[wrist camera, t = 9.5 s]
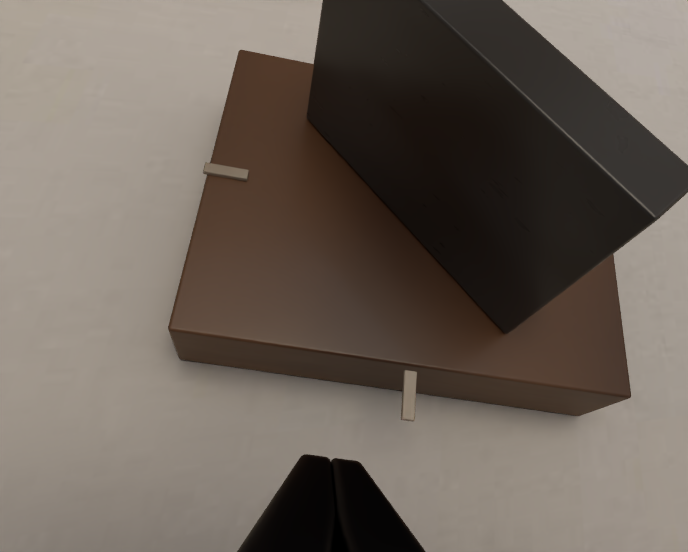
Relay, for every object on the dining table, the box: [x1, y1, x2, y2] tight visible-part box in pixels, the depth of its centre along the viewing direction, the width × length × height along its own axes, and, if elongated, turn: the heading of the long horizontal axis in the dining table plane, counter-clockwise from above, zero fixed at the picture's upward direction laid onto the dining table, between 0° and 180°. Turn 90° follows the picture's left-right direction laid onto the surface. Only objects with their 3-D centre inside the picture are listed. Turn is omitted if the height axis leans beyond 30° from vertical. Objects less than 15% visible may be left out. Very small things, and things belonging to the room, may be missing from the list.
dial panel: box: [168, 50, 631, 421], centre depth 20 cm, size 14×14×3 cm
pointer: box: [306, 0, 688, 334], centre depth 15 cm, size 10×2×7 cm, turn 40°
